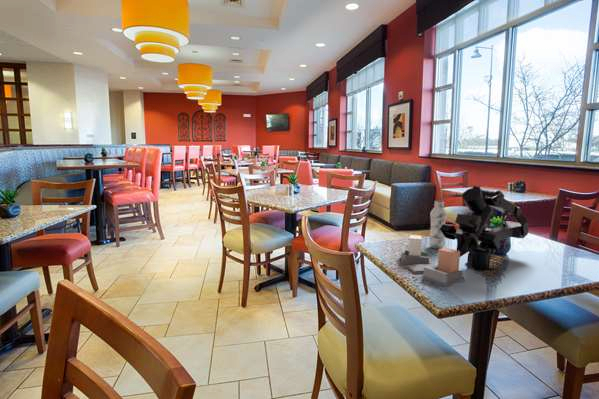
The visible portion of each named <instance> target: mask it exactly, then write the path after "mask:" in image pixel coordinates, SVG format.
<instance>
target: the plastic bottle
mask: <svg viewBox="0 0 599 399" xmlns="http://www.w3.org/2000/svg"><path fill="white" fill-rule="evenodd" d="M433 206H434V207H433V208H432V209H431V211H430V213H429V214H430V216H429V217H430V231H429V238H428V246H429V247H430V248H432V249H436V250H437V249H438V250H439V249H442V248H445V246H446V245H445V244H446V240H445V239H446V237H445V236H444V235H443V233H442V232H441V231H440V227H441V226H442V225H443V224H446V221H447V215H448V214H447V210H445V208H444V207H445V201H443V200H434V204H433Z"/></svg>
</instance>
